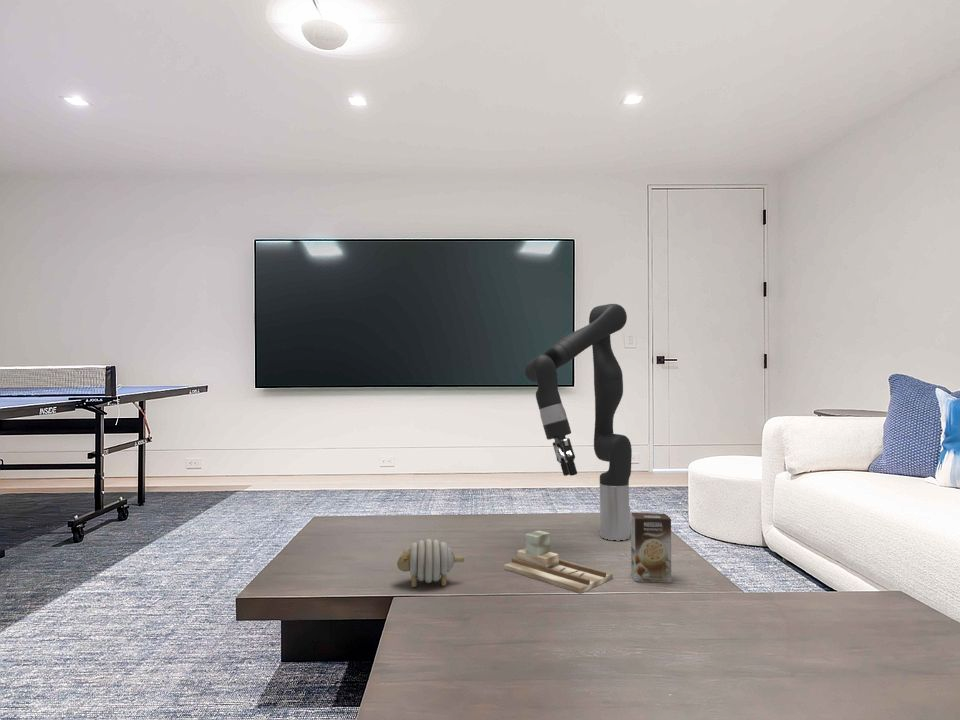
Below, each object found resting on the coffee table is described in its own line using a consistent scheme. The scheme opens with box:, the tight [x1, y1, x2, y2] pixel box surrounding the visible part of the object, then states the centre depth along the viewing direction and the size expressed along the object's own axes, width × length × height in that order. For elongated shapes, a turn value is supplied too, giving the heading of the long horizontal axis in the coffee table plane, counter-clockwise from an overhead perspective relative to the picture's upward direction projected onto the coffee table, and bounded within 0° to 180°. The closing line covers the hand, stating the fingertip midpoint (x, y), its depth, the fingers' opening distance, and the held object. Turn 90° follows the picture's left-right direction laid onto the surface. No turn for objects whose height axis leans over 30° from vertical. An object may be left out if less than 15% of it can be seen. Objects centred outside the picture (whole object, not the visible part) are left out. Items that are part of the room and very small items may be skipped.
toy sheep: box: [396, 538, 465, 588], centre depth 144 cm, size 11×17×11 cm, turn 100°
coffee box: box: [630, 512, 673, 584], centre depth 147 cm, size 9×6×16 cm
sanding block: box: [516, 530, 560, 568], centre depth 155 cm, size 6×10×8 cm, turn 45°
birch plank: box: [503, 557, 614, 594], centre depth 150 cm, size 14×25×2 cm, turn 45°
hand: (570, 475), depth 166 cm, fingers open, 8 cm apart
